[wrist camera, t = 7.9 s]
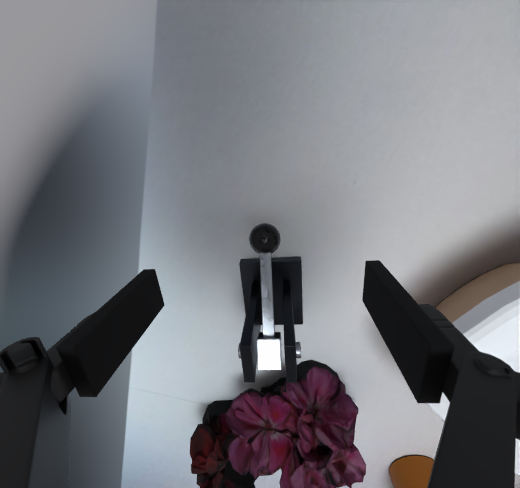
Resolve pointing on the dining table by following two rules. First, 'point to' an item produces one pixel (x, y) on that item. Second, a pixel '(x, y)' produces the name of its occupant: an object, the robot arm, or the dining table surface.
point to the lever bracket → (285, 311)
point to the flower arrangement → (281, 435)
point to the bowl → (487, 322)
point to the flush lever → (267, 297)
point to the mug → (411, 472)
